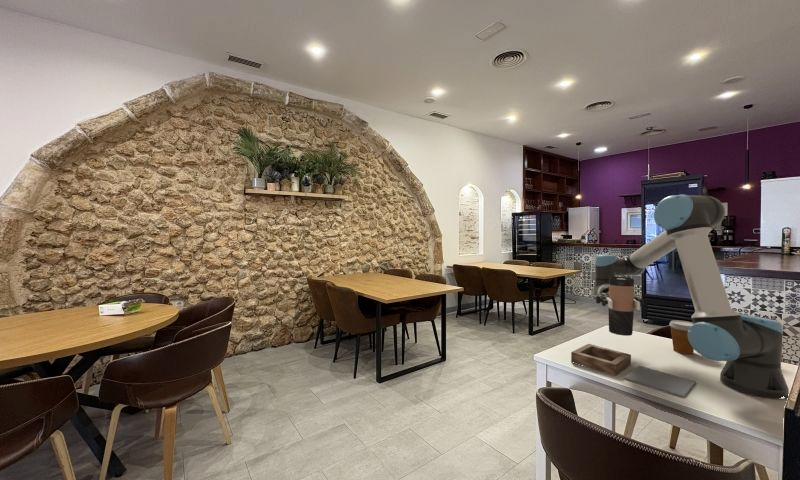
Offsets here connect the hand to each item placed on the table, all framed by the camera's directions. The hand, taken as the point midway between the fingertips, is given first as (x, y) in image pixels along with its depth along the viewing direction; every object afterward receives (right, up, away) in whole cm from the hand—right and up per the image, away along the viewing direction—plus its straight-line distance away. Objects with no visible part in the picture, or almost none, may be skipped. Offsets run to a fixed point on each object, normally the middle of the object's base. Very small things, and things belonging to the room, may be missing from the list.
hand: (624, 305), depth 116 cm
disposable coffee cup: (+39, -24, +22) cm, 51 cm away
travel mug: (+2, -11, +5) cm, 12 cm away
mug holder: (-3, -24, +10) cm, 26 cm away
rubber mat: (+8, -24, -5) cm, 26 cm away
